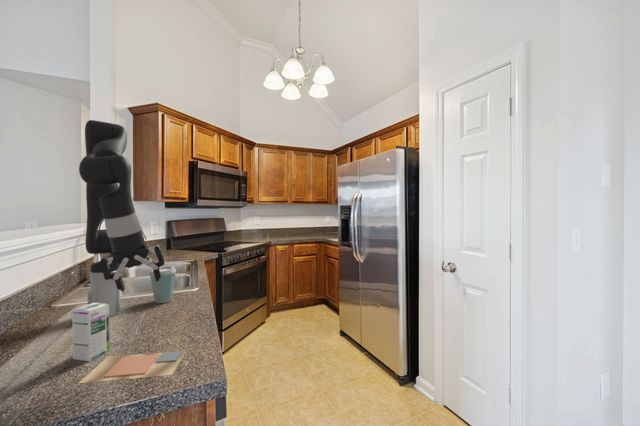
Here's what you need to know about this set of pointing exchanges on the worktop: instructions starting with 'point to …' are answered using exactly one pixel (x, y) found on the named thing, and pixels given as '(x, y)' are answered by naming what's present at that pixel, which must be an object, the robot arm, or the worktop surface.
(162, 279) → the disposable coffee cup
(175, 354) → the slate tile
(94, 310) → the syrup box
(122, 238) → the robot arm
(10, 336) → the worktop surface
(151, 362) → the terracotta pad
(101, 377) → the oak board
